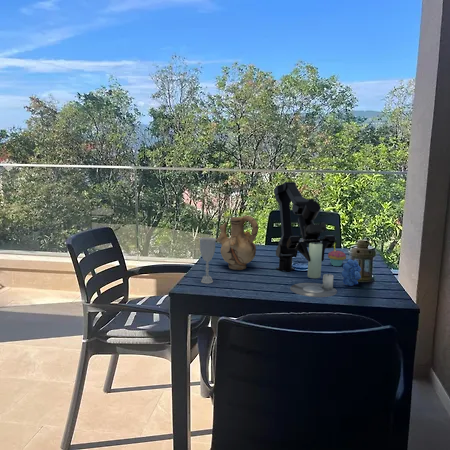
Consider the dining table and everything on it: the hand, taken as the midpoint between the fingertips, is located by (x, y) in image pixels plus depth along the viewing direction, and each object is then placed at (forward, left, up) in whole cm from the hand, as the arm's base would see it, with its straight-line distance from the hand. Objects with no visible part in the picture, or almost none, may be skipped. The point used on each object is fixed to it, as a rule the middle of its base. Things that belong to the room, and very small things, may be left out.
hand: (316, 260), depth 174 cm
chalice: (+16, -41, -13) cm, 46 cm away
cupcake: (-47, -13, -13) cm, 50 cm away
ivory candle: (-7, +2, -12) cm, 14 cm away
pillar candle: (-1, -1, -7) cm, 7 cm away
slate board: (-1, -1, -13) cm, 13 cm away
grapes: (-17, +8, -13) cm, 23 cm away
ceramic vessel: (-11, -46, -13) cm, 49 cm away
